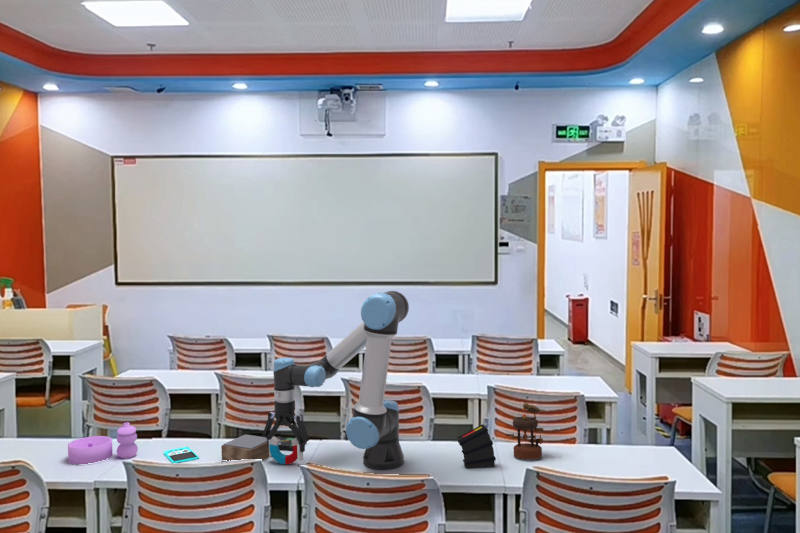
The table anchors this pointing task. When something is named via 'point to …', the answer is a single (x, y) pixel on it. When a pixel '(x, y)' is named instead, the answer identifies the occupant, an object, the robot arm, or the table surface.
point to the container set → (103, 446)
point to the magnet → (278, 455)
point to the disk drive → (286, 444)
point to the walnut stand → (245, 448)
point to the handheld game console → (180, 455)
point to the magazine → (477, 448)
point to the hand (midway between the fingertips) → (286, 458)
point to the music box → (526, 424)
